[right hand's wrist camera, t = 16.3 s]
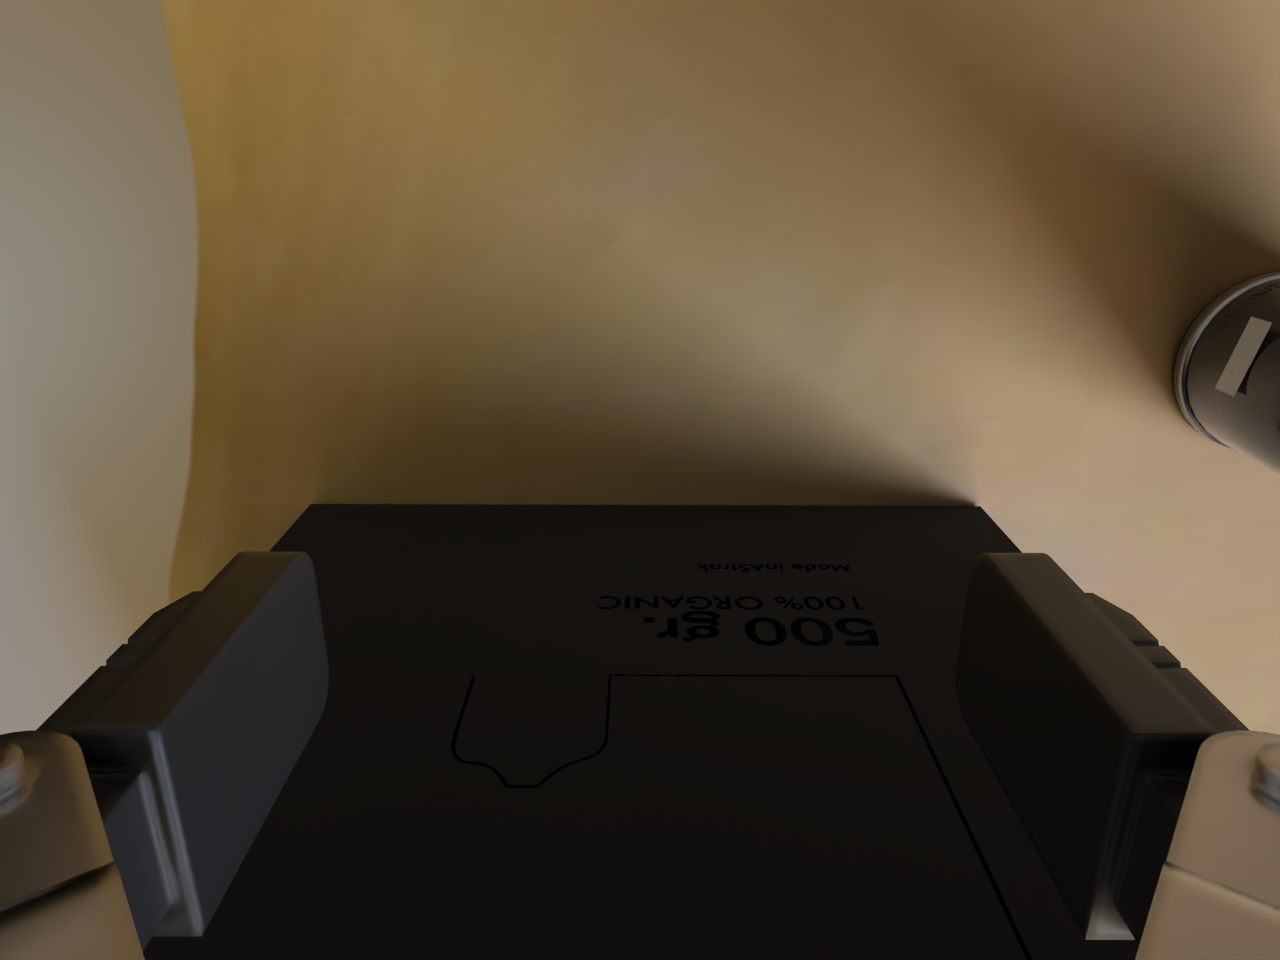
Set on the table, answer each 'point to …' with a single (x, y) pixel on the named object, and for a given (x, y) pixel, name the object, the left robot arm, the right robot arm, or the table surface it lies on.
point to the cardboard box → (642, 746)
